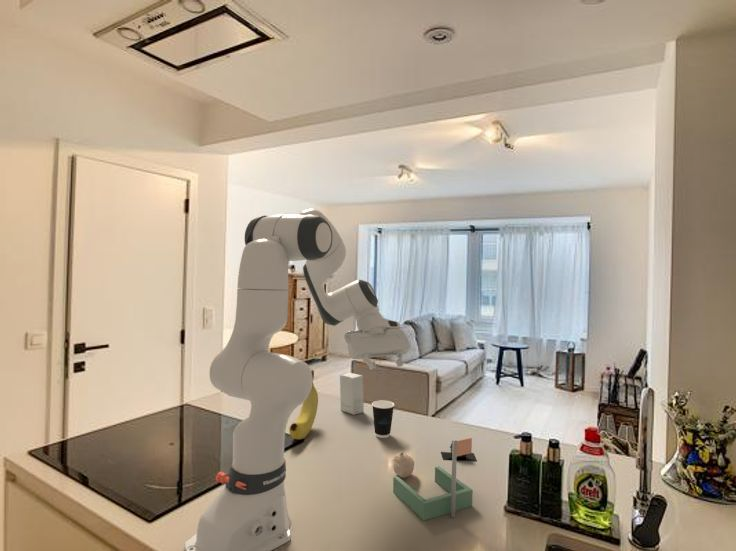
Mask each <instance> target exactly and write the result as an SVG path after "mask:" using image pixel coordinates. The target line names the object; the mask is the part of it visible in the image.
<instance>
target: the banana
mask: <svg viewBox="0 0 736 551" xmlns="http://www.w3.org/2000/svg"><path fill="white" fill-rule="evenodd" d="M310 370H311V372H312V378H313V379H314V378H315V376H314V375H315V371H314V370H313V369H310ZM318 404H319V395H318V391H317V389H316V387H315V385H314V382H313V383H312V388H311V391H310V394H309V395H308V397H307V398H306V400H305V401H304V402H303V403H302V404H301V408H300V411H299V415H298V417H297V419H296V421H293V423H291V425H290V426H289V430H288V431H289V435H290V437H291V438H292V439H294V440H302V439H303V440H304V439H305V438H306V437H307V436H308V434H310V431H311V430H312V428H313V425H314V423H315V419H316V415H317V412H318V406H319V405H318Z"/></svg>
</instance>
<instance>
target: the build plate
mask: <svg viewBox="0 0 736 551" xmlns="http://www.w3.org/2000/svg"><path fill="white" fill-rule="evenodd" d="M452 446H453V440H451V443H450V446H449V448H450V451H440V454H441V457H442V460H443V461H451V462H452ZM458 461H459V462H473V463H474V462H475V463H477V462H478V460H477V458H476V455H475V453H474V452H471V453H470V454H465V455H461V456H457V460H456V462H458Z"/></svg>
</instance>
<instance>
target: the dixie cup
mask: <svg viewBox="0 0 736 551" xmlns="http://www.w3.org/2000/svg"><path fill="white" fill-rule="evenodd" d="M371 406H372V415H373V416H372V417H373V424H374V426H373V428H374V433H375V437H377V438H380V439H386V438H389V437H390V434H391V431H392V425H393V424H392V422H393V414H394V408H395V403H394V402H392V401H390V400H375V401H373V402H371Z"/></svg>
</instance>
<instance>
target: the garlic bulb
mask: <svg viewBox="0 0 736 551" xmlns="http://www.w3.org/2000/svg"><path fill="white" fill-rule="evenodd" d="M392 469H393V471H394V474H395V475H396V476H398V477H399V478H400V479H401V478H402V479H408V478H409V477H410V476H411V475H412V474H413V473H414V469H415V461H414V459H413V458H412V456H410V455H408V454H407V453H404V452H403V451H402V452H400V453H397V454H396V455H394V458H393V459H392Z"/></svg>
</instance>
